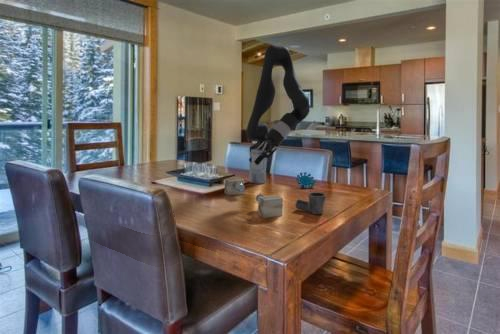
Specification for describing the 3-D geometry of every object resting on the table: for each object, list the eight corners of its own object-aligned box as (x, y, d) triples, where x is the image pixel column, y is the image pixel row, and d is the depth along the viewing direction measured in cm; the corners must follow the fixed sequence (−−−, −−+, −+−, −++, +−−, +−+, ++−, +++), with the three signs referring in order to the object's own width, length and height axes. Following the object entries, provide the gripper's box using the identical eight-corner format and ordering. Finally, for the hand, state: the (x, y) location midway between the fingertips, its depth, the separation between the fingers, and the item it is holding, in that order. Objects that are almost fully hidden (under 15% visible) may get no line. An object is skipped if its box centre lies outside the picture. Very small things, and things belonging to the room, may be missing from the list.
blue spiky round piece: (296, 186, 182) (296, 170, 188) (293, 192, 186) (294, 176, 192) (317, 189, 182) (316, 173, 188) (314, 194, 187) (313, 179, 193)
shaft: (255, 202, 145) (255, 194, 144) (263, 201, 146) (263, 193, 145) (263, 207, 138) (263, 198, 138) (271, 206, 140) (271, 197, 139)
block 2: (258, 214, 138) (258, 196, 137) (276, 212, 141) (276, 195, 140) (263, 218, 133) (264, 200, 132) (282, 215, 137) (282, 197, 135)
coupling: (248, 172, 154) (248, 149, 153) (259, 171, 157) (260, 149, 155) (254, 174, 150) (254, 150, 148) (265, 173, 152) (265, 150, 150)
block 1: (224, 193, 172) (224, 179, 171) (239, 191, 175) (239, 177, 174) (228, 195, 167) (228, 181, 166) (243, 193, 171) (243, 179, 170)
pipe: (300, 208, 147) (301, 189, 146) (328, 213, 140) (329, 194, 138) (292, 211, 143) (293, 191, 141) (321, 217, 135) (322, 197, 134)
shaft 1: (232, 189, 168) (232, 182, 167) (239, 188, 169) (239, 181, 169) (238, 192, 162) (238, 185, 161) (245, 192, 163) (245, 184, 163)
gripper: (265, 126, 159) (240, 154, 156) (281, 128, 147) (254, 159, 144) (275, 138, 162) (251, 165, 159) (291, 141, 150) (266, 171, 147)
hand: (253, 162), depth 151 cm, fingers closed on coupling, 4 cm apart
